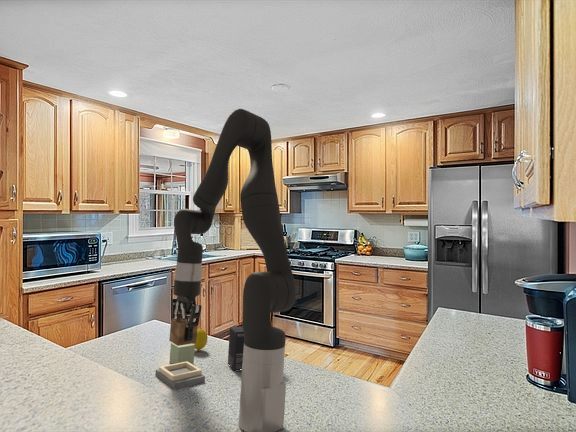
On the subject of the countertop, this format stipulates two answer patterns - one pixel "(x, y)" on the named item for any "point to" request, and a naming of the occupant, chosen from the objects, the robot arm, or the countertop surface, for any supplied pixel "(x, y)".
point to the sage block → (182, 353)
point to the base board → (180, 374)
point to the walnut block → (180, 332)
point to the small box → (236, 348)
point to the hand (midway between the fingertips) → (183, 337)
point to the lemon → (200, 339)
